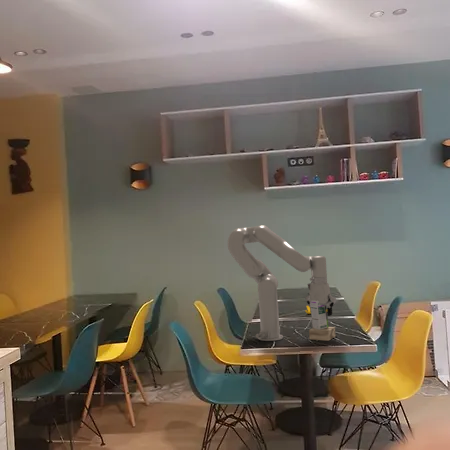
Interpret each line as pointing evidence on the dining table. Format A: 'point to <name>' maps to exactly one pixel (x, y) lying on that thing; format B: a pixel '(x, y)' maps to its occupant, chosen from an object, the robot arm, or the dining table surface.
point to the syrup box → (319, 315)
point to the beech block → (322, 334)
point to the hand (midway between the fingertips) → (321, 314)
